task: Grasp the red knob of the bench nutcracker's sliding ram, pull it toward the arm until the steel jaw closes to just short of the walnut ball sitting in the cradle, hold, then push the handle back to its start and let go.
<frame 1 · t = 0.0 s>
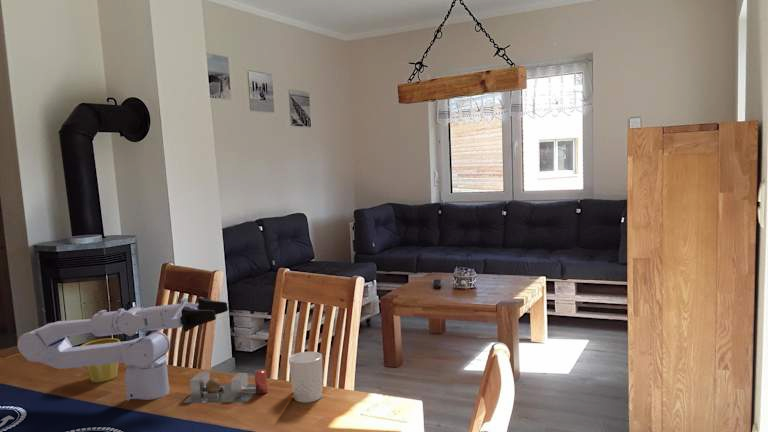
hand: (221, 310, 145), 22 cm above the table, tool horizontal, fingers open, 7 cm apart
nut: (214, 393, 148), point 1 cm above the table, touching bench
white cup: (308, 398, 145), on the table
bench: (224, 397, 148), on the table
ram handle: (250, 381, 146), point 4 cm above the table, slide at 0.0 cm
plant pot: (103, 378, 166), on the table
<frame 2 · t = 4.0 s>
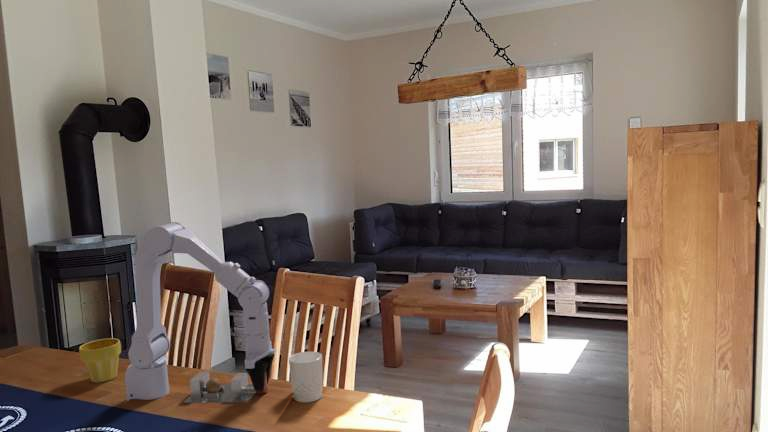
hand: (261, 387, 146), 3 cm above the table, tool pointing down, fingers closed on ram handle, 3 cm apart
ram handle: (250, 381, 146), point 4 cm above the table, slide at 0.0 cm, touching gripper
everything else where it was.
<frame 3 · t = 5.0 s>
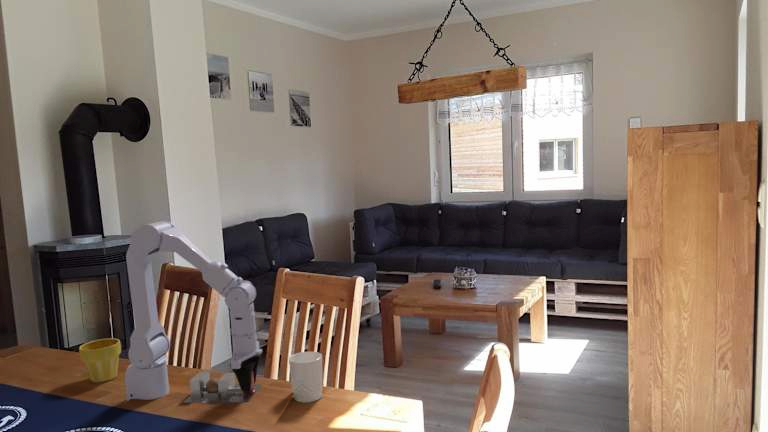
hand: (248, 387, 147), 3 cm above the table, tool pointing down, fingers closed on ram handle, 3 cm apart
ram handle: (237, 381, 147), point 4 cm above the table, slide at 3.2 cm, touching gripper
everything else where it was.
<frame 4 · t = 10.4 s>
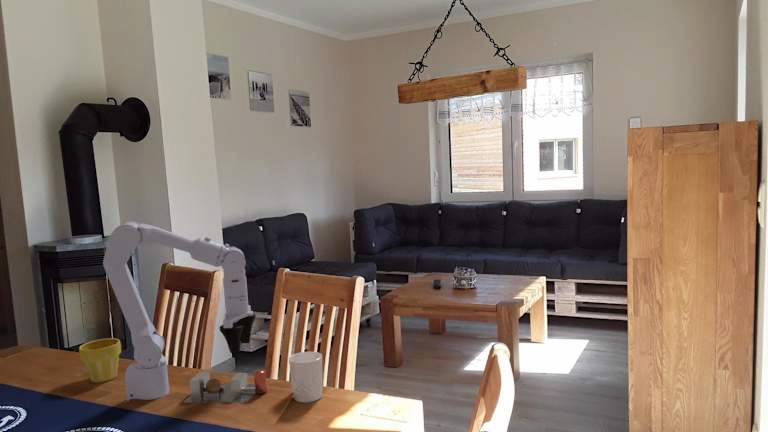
hand: (240, 347, 154), 10 cm above the table, tool pointing down, fingers open, 7 cm apart
ram handle: (250, 381, 146), point 4 cm above the table, slide at 0.1 cm
everything else where it was.
at the end: ram handle slide at 0.1 cm; nut 0.0 cm from the target spot, point 1.2 cm above the table; the gripper is holding nothing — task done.
